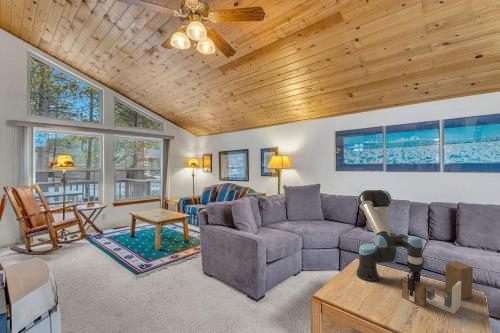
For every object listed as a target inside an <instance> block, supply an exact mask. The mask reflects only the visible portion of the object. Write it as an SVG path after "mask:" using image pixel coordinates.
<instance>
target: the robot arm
mask: <svg viewBox="0 0 500 333" xmlns="http://www.w3.org/2000/svg"><path fill="white" fill-rule="evenodd" d="M357 201H358V202H357V204H358V206H359V208H360V209H361V210H363V212H364V215H365V217H366V219H367V222H369V226H370V227H371V229H372V231H373V233H374V235H375V236H374V244H373V243H363V244H361V245H360V246H359V249H358V257H359V258H358V267H357V270H356V276H357V278H359V279H360V280H362V281H363V280H364V281H367V282H377V281H379V280H380V274H379V271H378V268H377V264H394V263H397V261H398V260H399V258H400V253H399V250H398V248H403V249H406V250H407V256H406V258H407V259H406V267H407V268H408V269H409V272H408V274H407V275H406V277H407V278H408V288H407V289H408V290H409V300H411V301H413V302H415V291H414V287H415V281H416V282H419V283H421V273H422V269H423V265H422V264H423V261H424V259H423V239H422V238H421V237H419V236H415V235H409V236H408V235H406V234H403V233H400V232H398V233H397V234H393V235H392V234H391V231H390V230H391V229H390V222H389V215H388V209H389V208H390V205H391V204H392V201H393V200H392V196H391V193H390V192H389V191H388V190H384V189H366V190H364V191H362V192H361V193H360V194H359V195H358V198H357ZM409 300H408V301H409ZM411 301H410V302H411ZM413 302H412V303H413Z"/></svg>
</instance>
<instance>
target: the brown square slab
mask: <svg viewBox="0 0 500 333" xmlns="http://www.w3.org/2000/svg"><path fill="white" fill-rule="evenodd" d="M427 287H428V286H427V284H424V283H422V282H420V283H419V282H416V281H415V287H414V291H415V302H413V301H411V300H409V290H408V289H407V288H408V277H403V278H402V279H401V299H404V300H406V301H408V302H411V303H413V304H416V305H418V306H420V307H423V308H424V307H426V305H427V303H426V296H427V290H428V288H427Z"/></svg>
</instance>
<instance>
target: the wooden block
mask: <svg viewBox="0 0 500 333" xmlns="http://www.w3.org/2000/svg"><path fill="white" fill-rule="evenodd" d="M473 270H474V269H473V267H472V266H471V265H467V264H465V263H462V262H460V261H457V260H455V261H450V262H446V263H445V282H444V286H445V289H444V292H445V293H447V294H450V295H452V287H453V286H454V285H455V284H456V283H457V282H458V281H460V282H461V301H463V300H466V299H470V298H472V297H473V273H474V272H473Z"/></svg>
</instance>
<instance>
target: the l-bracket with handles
mask: <svg viewBox="0 0 500 333" xmlns="http://www.w3.org/2000/svg"><path fill="white" fill-rule="evenodd" d="M426 304H429V305H431V306H433V307H436V308H438V309H440V310H443V311H446V312H447V313H451V314H453V315H454V314H456V313H457V311H459V309H460V308H461V306H462V300H461V282H460V281H458V282H457V283H456V284H455V285H454V286H453V287H452V295H451V294H449V293H447V297H446V296H444V297H442V296H440V295H437V294H436V288H434V287H430V288H429V290H428V289H427V296H426Z"/></svg>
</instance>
